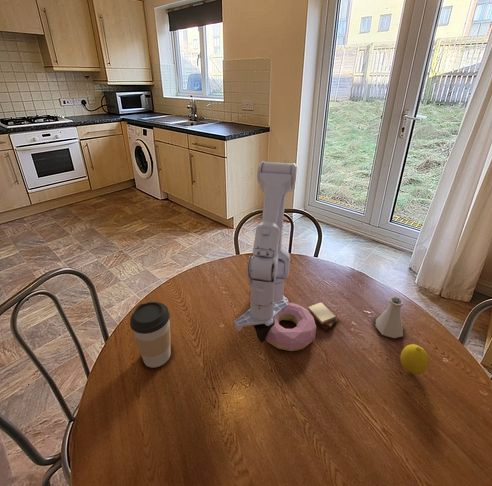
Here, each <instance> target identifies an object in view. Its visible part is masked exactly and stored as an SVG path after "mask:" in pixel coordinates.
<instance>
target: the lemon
mask: <svg viewBox="0 0 492 486" xmlns="http://www.w3.org/2000/svg"><path fill="white" fill-rule="evenodd" d="M400 363H401V366H402V368H403V370H405V371H406V372H408V373H409V374H411V375H415V376H416V375H417V376H418V375H422V374H423V373H425V372H426V371H427V369H428V366H429V356H428V353H427V351H426V350H425V349H424V348H423V347H422V346H420V345H418V344H414V343H412V344H408V345H406V346H405V347H404V348H403V349H402V350H401V353H400Z"/></svg>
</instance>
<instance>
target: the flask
mask: <svg viewBox="0 0 492 486" xmlns="http://www.w3.org/2000/svg"><path fill="white" fill-rule="evenodd" d="M402 306H404V300H402V299H401V298H400V297H397V296H391V297H390V296H389V305H387V308H386V309H385V310H384V311H383V312H382V313H381V314H380V315H379V316H377V318H376V319H375V328H376V329H377V331H379V333H380V334H381V335H382V336H384V337H388V338H392V339H397V338H402V337H404V327H403V323H402V318H401V307H402Z"/></svg>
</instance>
